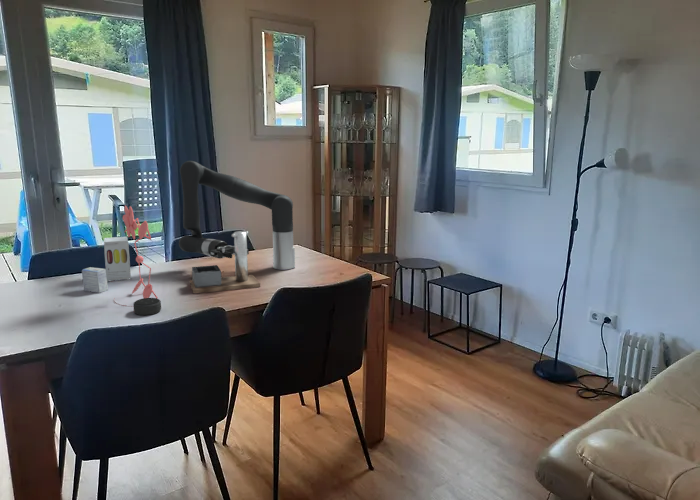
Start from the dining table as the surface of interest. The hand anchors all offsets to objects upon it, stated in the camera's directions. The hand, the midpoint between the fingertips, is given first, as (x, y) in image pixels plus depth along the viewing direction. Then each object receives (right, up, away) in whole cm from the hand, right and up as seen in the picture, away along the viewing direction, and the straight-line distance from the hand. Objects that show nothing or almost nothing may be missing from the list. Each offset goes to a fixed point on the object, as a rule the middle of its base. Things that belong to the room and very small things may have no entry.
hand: (240, 253), depth 215 cm
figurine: (-35, -17, -18) cm, 43 cm away
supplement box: (-53, -10, +9) cm, 55 cm away
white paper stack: (-54, -15, -9) cm, 57 cm away
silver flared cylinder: (0, -11, +2) cm, 11 cm away
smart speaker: (-25, -20, -32) cm, 45 cm away
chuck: (-13, -12, -3) cm, 18 cm away
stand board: (-6, -13, 0) cm, 14 cm away
